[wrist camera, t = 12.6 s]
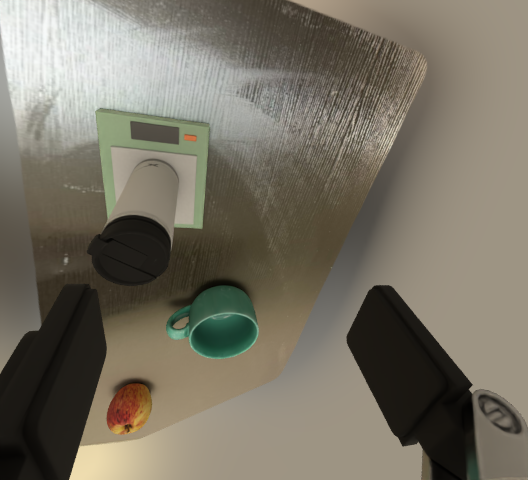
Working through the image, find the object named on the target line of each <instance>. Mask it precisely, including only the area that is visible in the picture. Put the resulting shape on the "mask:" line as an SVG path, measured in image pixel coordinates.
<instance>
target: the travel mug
mask: <svg viewBox="0 0 528 480" xmlns="http://www.w3.org/2000/svg"><path fill="white" fill-rule="evenodd" d="M178 187H179V178H178V175H177V173H176V171H175V170H174V168H173V167H172V166H171V165H169V164H168V163H166V162H165V161H162V160H159V159H147V160H144V161H142V162H140V163H139V164H138V165H137V166H136V167H135V168H134V170H133V172H132V174H131V176H130V178H129V180H128V182H127V184H126V186H125V188H124V190H123V192H122V193H121V195H120V197H119V199H118V201H117V203H116V205H115V207H114V209H113V211H112V213H111V215H110V217H109V219H108V221H107V223H106V224H105V226H104V228H103V230H102V233H101V235H100V234H98V235H96V236H95V237H94V239H93V240H92V241H91V243H90V244H89V247H88V250H87V253H88V254H90V255H92V263H93V266H94V268H95V270H96V271H97V272H98V273H99V274H100V275H101V276H102V277H103V278H105V279H106V280H108V281H111V282H113V283H116V284H120V285H126V286H136V285H143V284H147V283H150V282H151V281H153V280H155V279H156V278H157V277H158V276H160V275H161V274H162V273H163V272H164V271H165V270H166V269H167V267H168V263H169V260H170V253H171V249H172V241H173V232H174V223H175V214H176V205H177V196H178Z"/></svg>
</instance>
